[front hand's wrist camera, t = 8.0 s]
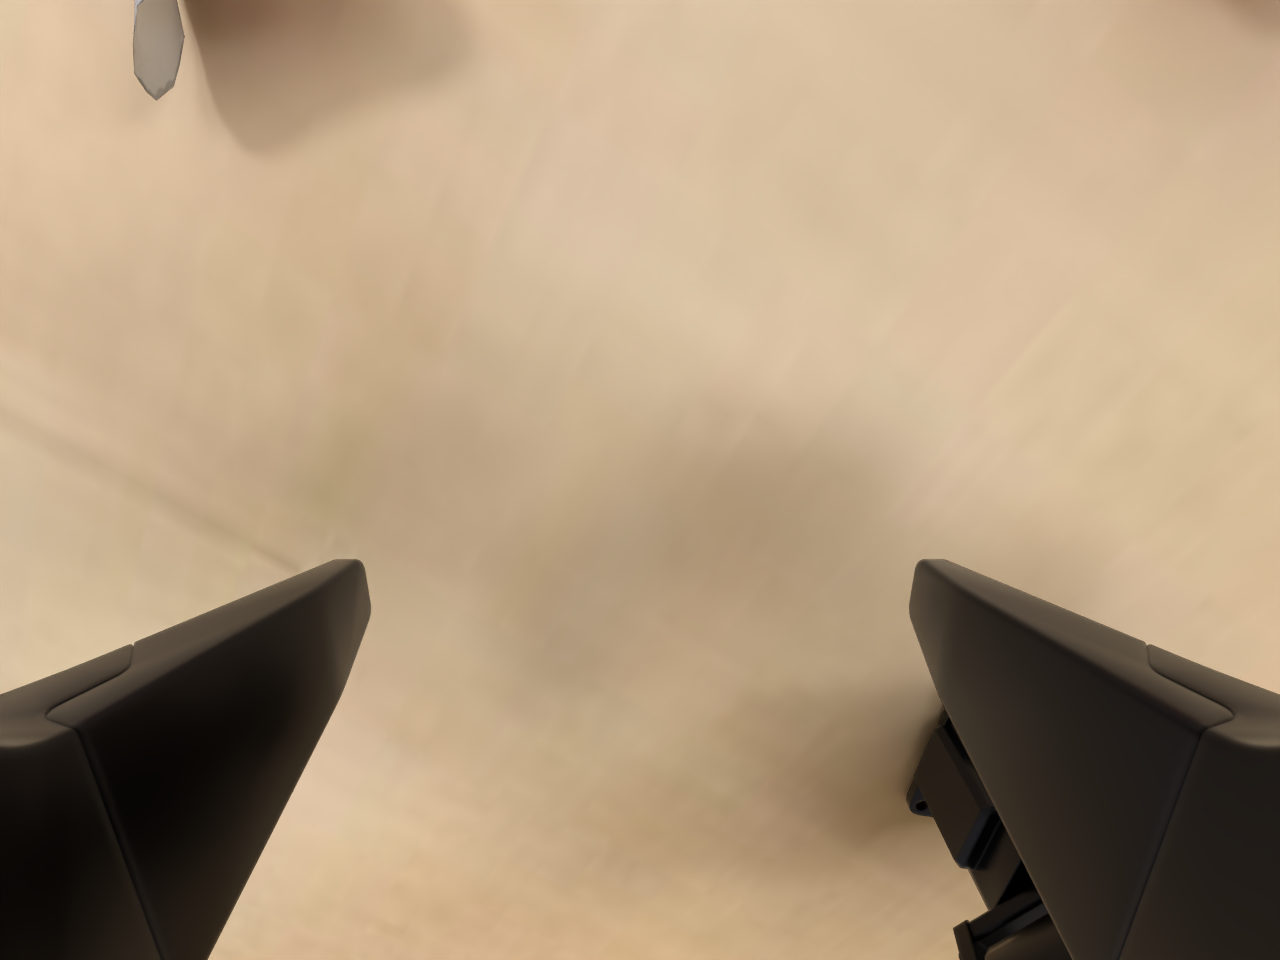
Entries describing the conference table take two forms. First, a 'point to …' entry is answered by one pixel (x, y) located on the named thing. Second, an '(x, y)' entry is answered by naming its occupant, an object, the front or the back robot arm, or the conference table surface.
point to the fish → (157, 44)
